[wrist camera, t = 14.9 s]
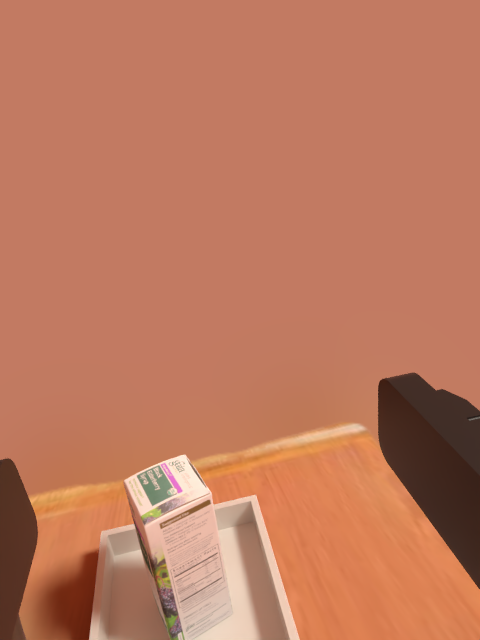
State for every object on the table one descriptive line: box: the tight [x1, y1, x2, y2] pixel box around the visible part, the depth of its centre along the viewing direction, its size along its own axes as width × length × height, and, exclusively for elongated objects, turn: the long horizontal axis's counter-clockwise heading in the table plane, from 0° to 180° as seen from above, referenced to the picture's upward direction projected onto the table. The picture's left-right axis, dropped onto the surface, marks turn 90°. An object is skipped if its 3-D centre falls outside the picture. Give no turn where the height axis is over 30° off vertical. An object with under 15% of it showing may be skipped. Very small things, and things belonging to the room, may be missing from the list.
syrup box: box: [124, 455, 233, 640], centre depth 39 cm, size 6×6×14 cm
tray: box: [89, 495, 300, 640], centre depth 42 cm, size 16×16×4 cm
